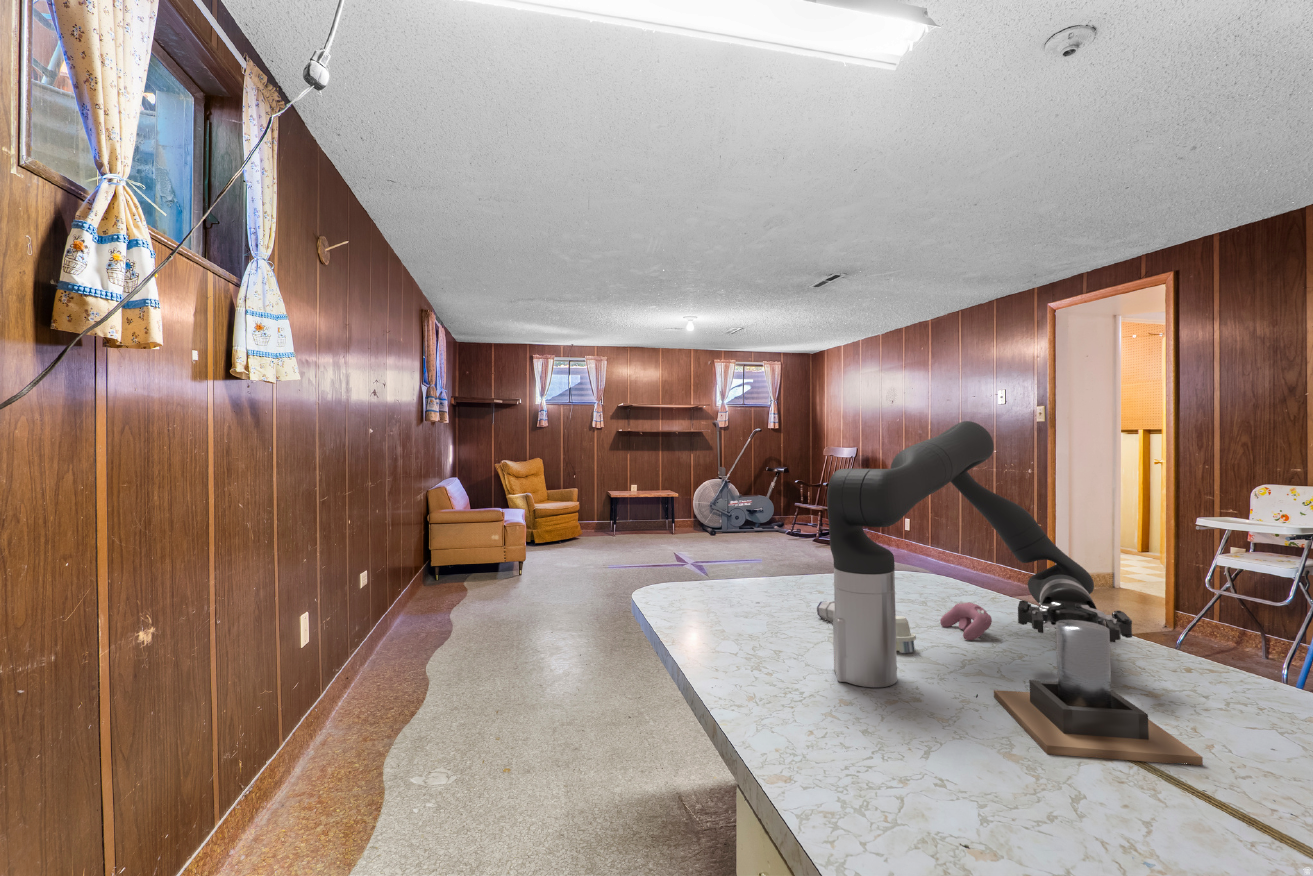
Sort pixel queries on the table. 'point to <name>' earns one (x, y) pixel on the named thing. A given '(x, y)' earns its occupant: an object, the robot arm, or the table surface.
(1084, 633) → the grey metal cylinder
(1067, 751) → the wooden board with frame
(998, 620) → the table surface
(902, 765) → the table surface
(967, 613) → the video game controller
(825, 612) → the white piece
